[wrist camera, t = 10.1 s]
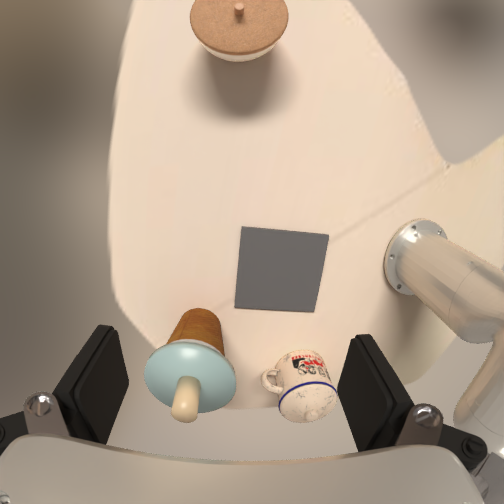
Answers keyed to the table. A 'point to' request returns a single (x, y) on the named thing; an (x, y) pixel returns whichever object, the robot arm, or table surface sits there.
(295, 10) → the table surface
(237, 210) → the table surface
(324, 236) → the mat
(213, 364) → the cover
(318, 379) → the teacup with lid
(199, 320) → the disposable coffee cup
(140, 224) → the table surface
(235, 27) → the lidded jar
